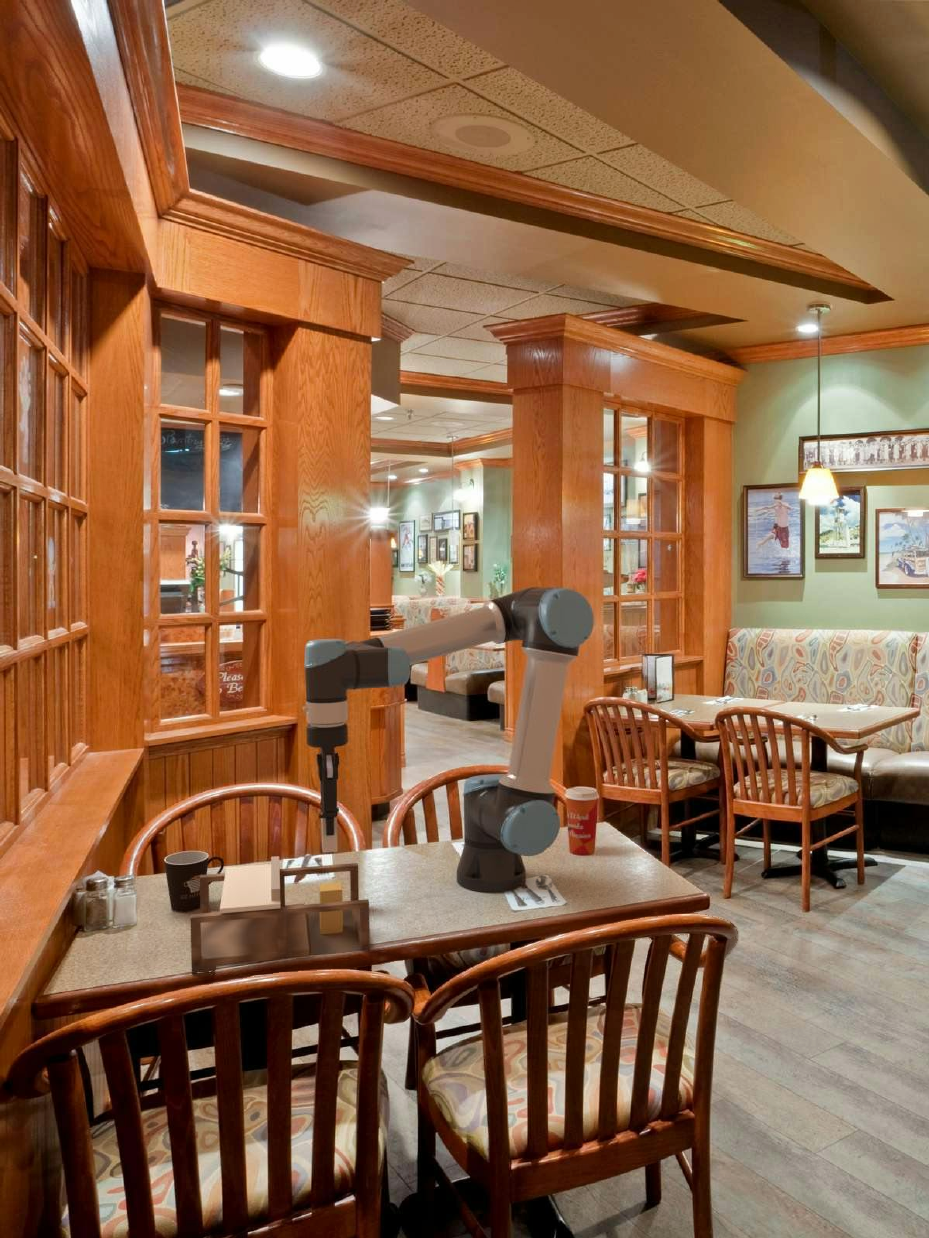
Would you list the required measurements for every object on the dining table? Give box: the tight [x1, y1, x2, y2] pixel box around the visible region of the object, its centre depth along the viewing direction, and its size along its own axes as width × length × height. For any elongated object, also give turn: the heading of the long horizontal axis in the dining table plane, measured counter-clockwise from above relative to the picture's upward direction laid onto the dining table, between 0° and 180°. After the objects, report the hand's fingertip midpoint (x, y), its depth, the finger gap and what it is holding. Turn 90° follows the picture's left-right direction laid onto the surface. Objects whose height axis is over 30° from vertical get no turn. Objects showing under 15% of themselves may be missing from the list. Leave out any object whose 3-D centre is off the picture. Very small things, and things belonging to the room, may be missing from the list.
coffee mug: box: [163, 850, 225, 913], centre depth 180 cm, size 12×9×10 cm
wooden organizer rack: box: [189, 862, 371, 975], centre depth 163 cm, size 30×22×10 cm
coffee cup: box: [564, 786, 600, 857], centre depth 212 cm, size 8×8×15 cm
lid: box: [219, 855, 280, 913], centre depth 161 cm, size 10×22×3 cm, turn 12°
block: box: [318, 881, 343, 934], centre depth 164 cm, size 4×4×8 cm
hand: (329, 849), depth 164 cm, fingers closed
